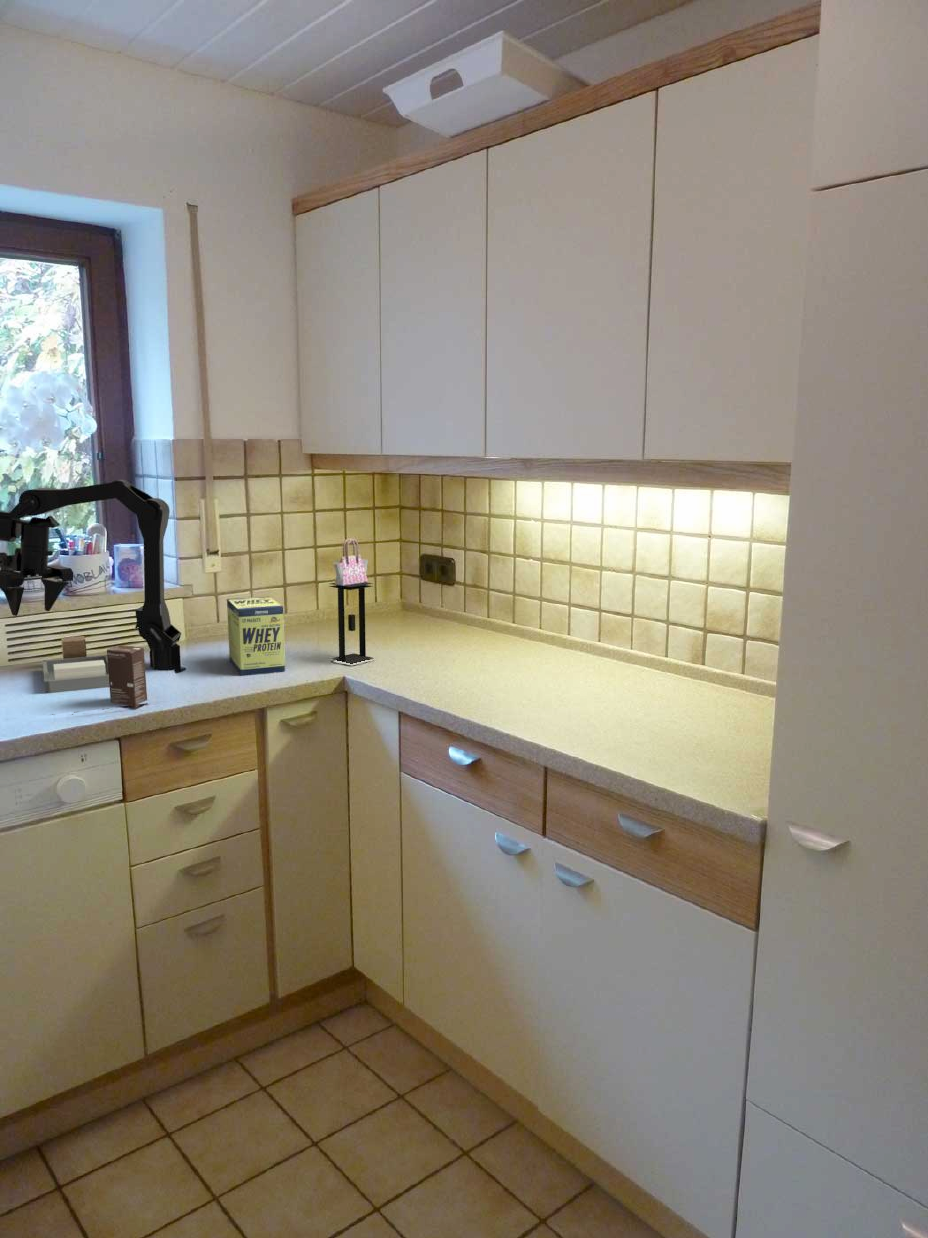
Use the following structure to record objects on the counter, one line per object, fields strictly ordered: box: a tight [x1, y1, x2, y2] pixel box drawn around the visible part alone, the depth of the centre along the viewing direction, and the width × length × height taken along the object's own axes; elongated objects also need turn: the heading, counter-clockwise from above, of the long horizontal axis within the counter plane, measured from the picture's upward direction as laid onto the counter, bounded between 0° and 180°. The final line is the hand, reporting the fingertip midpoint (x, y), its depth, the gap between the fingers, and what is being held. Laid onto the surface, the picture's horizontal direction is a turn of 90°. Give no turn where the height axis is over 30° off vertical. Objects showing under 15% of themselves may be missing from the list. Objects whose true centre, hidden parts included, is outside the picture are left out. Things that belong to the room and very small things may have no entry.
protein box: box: [226, 596, 286, 677], centre depth 218 cm, size 10×16×16 cm
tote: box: [42, 654, 110, 695], centre depth 204 cm, size 20×14×4 cm
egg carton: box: [53, 660, 106, 680], centre depth 198 cm, size 5×10×4 cm, turn 115°
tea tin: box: [60, 635, 88, 659], centre depth 216 cm, size 5×5×7 cm
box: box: [106, 644, 148, 710], centre depth 186 cm, size 6×4×12 cm
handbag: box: [328, 538, 375, 664], centre depth 222 cm, size 10×8×30 cm
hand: (31, 613), depth 209 cm, fingers open, 9 cm apart
